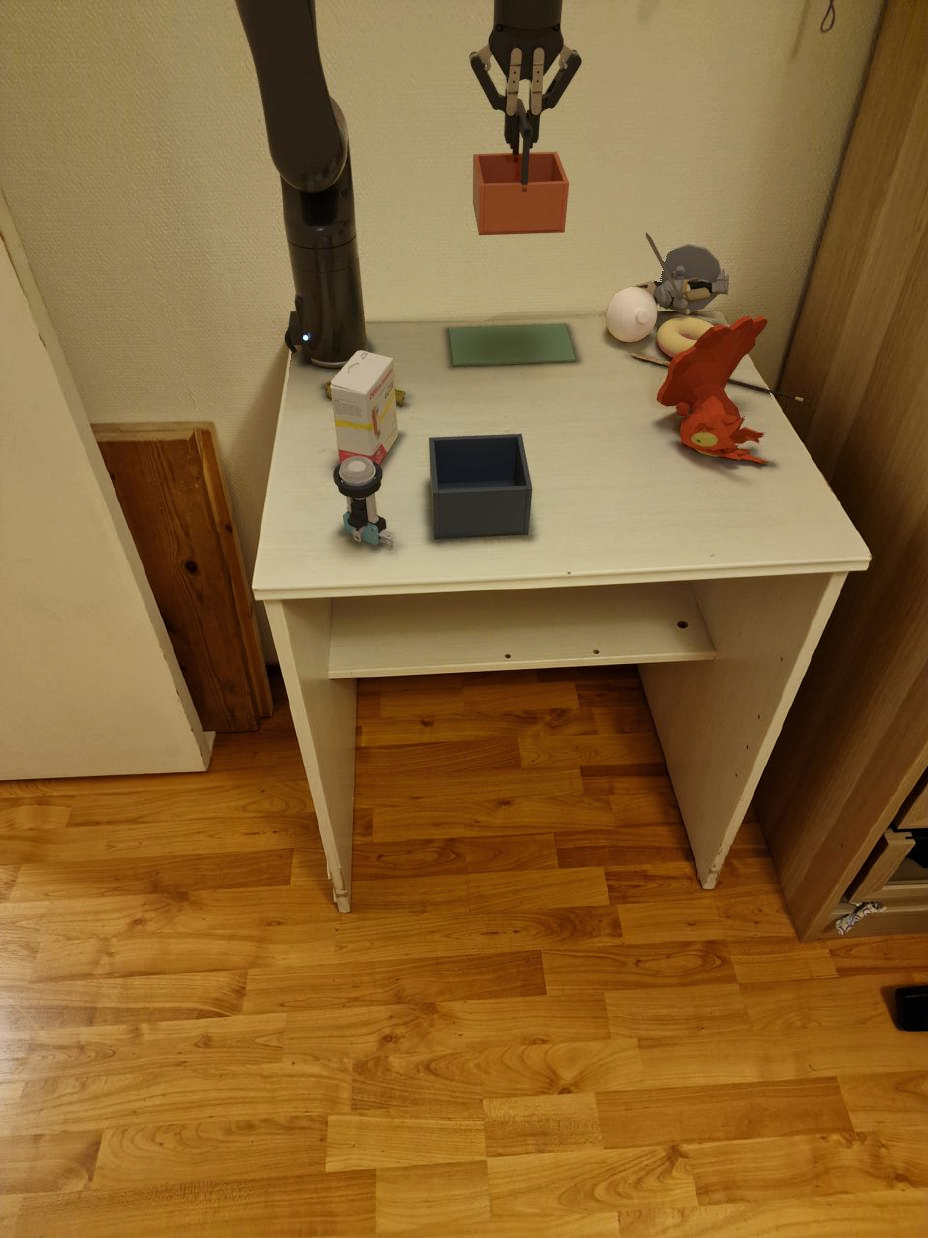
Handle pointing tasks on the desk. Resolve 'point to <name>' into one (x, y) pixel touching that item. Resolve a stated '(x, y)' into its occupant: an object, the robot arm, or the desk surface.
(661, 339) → the donut
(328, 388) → the key
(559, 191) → the box
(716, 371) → the toy
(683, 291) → the toy
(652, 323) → the spinning top
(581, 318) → the desk surface
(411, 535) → the desk surface
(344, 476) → the push button
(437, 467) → the bottom basket
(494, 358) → the mat
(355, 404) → the ink box
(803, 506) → the desk surface
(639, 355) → the brush
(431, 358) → the desk surface
